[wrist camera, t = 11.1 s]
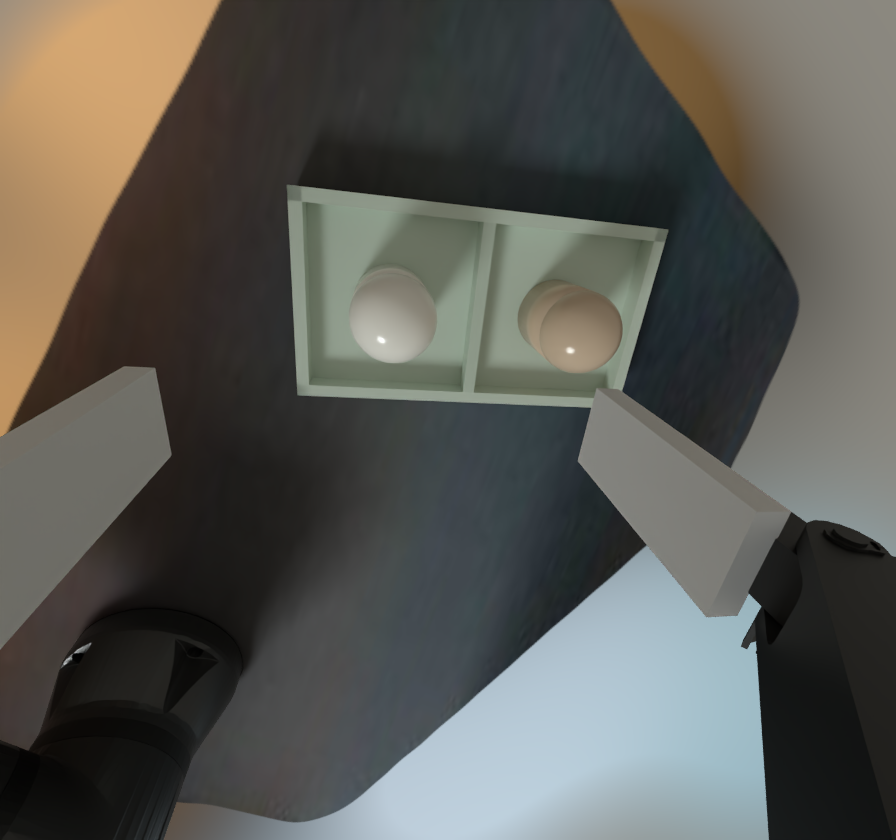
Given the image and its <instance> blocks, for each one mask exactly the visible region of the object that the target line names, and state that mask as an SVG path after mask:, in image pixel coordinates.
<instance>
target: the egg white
mask: <svg viewBox="0 0 896 840" xmlns="http://www.w3.org/2000/svg"><path fill="white" fill-rule="evenodd" d="M349 325H350V330H351V333H352V335H353V337H354V339H355V341H356V343H357V344H358V345H359V347H360V348H361V349H362V350H363V351H364V352H365V353H366V354H368V355H369V356H371V357H372V358H374V359H376V360H379V361H382V362H386V363H403V362H407V361H410V360H412V359H414V358H416V357H418V356H419V355H420V354H422V353H423V352H424V351H425V350H426V349H427V348H428V346H429V345H430V344H431V342H432V340H433V338H434V335H435V332H436V329H437V310H436V306H435V303H434V301H433V298H432V297H431V295H430V293H429V292H428V290H427V289H426V287H425V285H424V284H423V282H422V281H421V280H420V278H419V277H418V276H417V275H416V274H415V273H414V272H413V271H411V270H410V269H408V268H406V267H404V266H401V265H398V264H381V265H378V266H375V267H373V268H371V269H370V270H368V271H367V272H366V273H364V274H363V276H362V277H361V278H360V279H359V281H358V283H357V285H356V287H355V290H354V293H353V297H352V300H351V304H350V308H349Z"/></svg>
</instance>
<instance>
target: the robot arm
mask: <svg viewBox="0 0 896 840" xmlns="http://www.w3.org/2000/svg"><path fill="white" fill-rule="evenodd" d="M171 456H172V454H171V449H170V444H169V438H168V433H167V428H166V422H165V417H164V412H163V407H162V401H161V396H160V391H159V386H158V380H157V375H156V370H155V368H149V367H127V366H124V367H122V368H120V369H119V370H117V371H115V372H113V373H112V374H110V375H108V376H106V377H105V378H103V379H101V380H99V381H98V382H96V383H94V384H92V385H91V386H89V387H87V388H85V389H84V390H82V391H80V392H78V393H77V394H75V395H73V396H71V397H70V398H68V399H66V400H64V401H63V402H61V403H59V404H57V405H56V406H54V407H52V408H50V409H49V410H47V411H45V412H43V413H42V414H40V415H38V416H36V417H35V418H33V419H31V420H29V421H28V422H26V423H24V424H22V425H21V426H19V427H17V428H15V429H14V430H12V431H10V432H8V433H7V434H5V435H3V436H1V437H0V649H1V648H2V647H3V646H4V644H5V643H6V642H7V641H8V640H9V639H10V638H11V637H12V635H13V634H14V633H15V632H16V631H17V630H18V629H19V628H20V626H21V625H22V624H23V623H24V622H25V621H26V620H27V618H28V617H29V616H30V615H31V614H32V613H33V612H34V611H35V609H36V608H37V607H38V606H39V605H40V604H41V603H42V601H43V600H44V599H45V598H46V597H47V596H48V595H49V594H50V592H51V591H52V590H53V589H54V588H55V587H56V586H57V585H58V583H59V582H60V581H61V580H62V579H63V578H64V577H65V575H66V574H67V573H68V572H69V571H70V570H71V569H72V568H73V566H74V565H75V564H76V563H77V562H78V561H79V560H80V559H81V557H82V556H83V555H84V554H85V553H86V552H87V551H88V549H89V548H90V547H91V546H92V545H93V544H94V543H95V542H96V540H97V539H98V538H99V537H100V536H101V535H102V534H103V533H104V531H105V530H106V529H107V528H108V527H109V526H110V525H111V523H112V522H113V521H114V520H115V519H116V518H117V517H118V516H119V514H120V513H121V512H122V511H123V510H124V509H125V508H126V507H127V505H128V504H129V503H130V502H131V501H132V500H133V499H134V497H135V496H136V495H137V494H138V493H139V492H140V491H141V490H142V488H143V487H144V486H145V485H146V484H147V483H148V482H149V481H150V479H151V478H152V477H153V476H154V475H155V474H156V473H157V471H158V470H159V469H160V468H161V467H162V466H163V465H164V464H165V462H166V461H167V460H168V459H169V458H170V457H171ZM578 462H579V463H580V464H581V465H582V467H583V468H584V469H585V470H586V472H587V473H588V474H589V475H590V476H591V478H592V479H593V480H594V481H595V482H596V484H597V485H598V486H599V487H600V489H601V490H602V491H603V492H604V493H605V495H606V496H607V497H608V498H609V499H610V501H611V502H612V503H613V504H614V506H615V507H616V508H617V509H618V510H619V512H620V513H621V514H622V515H623V517H624V518H625V519H626V520H627V521H628V523H629V524H630V525H631V526H632V527H633V529H634V530H635V531H636V532H637V534H638V535H639V536H640V537H641V538H642V540H643V541H644V542H645V543H646V544H647V546H648V547H649V548H650V549H651V550H652V552H653V553H654V554H655V555H656V557H657V558H658V559H659V560H660V561H661V563H662V564H663V565H664V566H665V567H666V569H667V570H668V571H669V572H670V573H671V575H672V576H673V577H674V578H675V580H676V581H677V582H678V583H679V585H680V586H681V587H682V588H683V589H684V591H685V592H686V593H687V594H688V595H689V597H690V598H691V599H692V600H693V602H694V603H695V604H696V605H697V606H698V607H699V609H700V610H701V611H702V612H703V614H704V615H705V616H706V617H719V616H737V615H738V613H739V611H740V609H741V607H742V605H743V604H744V602H745V600H746V598H747V596H748V594H750V595H751V596H752V597H753V598H754V599H755V600H756V601H757V602H758V603H759V604H760V605H761V606H762V607H761V609H760V610H759V612H758V614H757V616H756V618H755V620H754V621H753V623H752V625H751V627H750V629H749V630H748V632H747V634H746V636H745V638H744V640H743V642H742V645H741V647H743V648H745V649H747V648H748V647H749V645H750V643H751V642H755V641H756V647H757V651H756V654H757V662H758V677H759V693H760V707H761V708H760V709H761V723H762V740H763V755H764V770H765V786H766V801H767V816H768V832H769V840H896V557H893V556H891V555H890V554H889V553H888V551H887V550H886V549H885V548H884V547H883V546H881V545H880V544H879V543H878V542H876V541H874V540H873V539H871V538H869V537H867V536H865V535H863V534H861V533H860V532H858V531H855V530H853V529H851V528H848V527H845V526H842V525H840V524H835V523H831V522H828V521H818V520H814V521H811V522H808V523H806V522H805V521H803V520H802V519H801V518H799V517H798V516H796V515H795V514H793V513H792V512H791V511H790V510H788V509H787V508H785V507H784V506H782V505H781V504H780V503H778V502H777V501H776V500H774V499H773V498H771V497H770V496H768V495H767V494H766V493H764V492H763V491H761V490H760V489H758V488H757V487H756V486H754V485H753V484H751V483H750V482H749V481H747V480H746V479H744V478H743V477H742V476H740V475H739V474H737V473H736V472H735V471H733V470H732V469H730V468H729V467H727V466H726V465H725V464H723V463H722V462H720V461H719V460H718V459H716V458H715V457H713V456H712V455H711V454H709V453H708V452H706V451H705V450H703V449H702V448H701V447H699V446H698V445H696V444H695V443H694V442H692V441H691V440H689V439H688V438H687V437H685V436H684V435H682V434H681V433H679V432H678V431H677V430H675V429H674V428H672V427H671V426H670V425H668V424H667V423H665V422H664V421H662V420H661V419H660V418H658V417H657V416H655V415H654V414H653V413H651V412H650V411H648V410H647V409H646V408H644V407H643V406H641V405H640V404H638V403H637V402H636V401H634V400H633V399H631V398H630V397H629V396H627V395H626V394H624V393H623V392H622V391H620V390H619V389H607V388H596V392H595V396H594V400H593V404H592V408H591V412H590V416H589V420H588V423H587V427H586V431H585V435H584V439H583V443H582V447H581V451H580V455H579V459H578ZM241 671H242V657H241V653H240V651H239V649H238V647H237V645H236V644H235V642H234V641H233V640H232V638H231V637H230V636H229V635H228V634H227V633H225V632H224V631H223V630H222V629H220V628H219V627H217V626H216V625H214V624H212V623H210V622H208V621H206V620H204V619H202V618H199V617H197V616H194V615H190V614H187V613H183V612H178V611H173V610H164V609H138V610H130V611H125V612H120V613H117V614H114V615H111V616H108V617H106V618H103V619H101V620H99V621H97V622H96V623H94V624H93V625H91V626H90V627H89V628H87V629H86V630H85V631H84V632H83V633H82V635H81V636H80V637H79V639H78V640H77V641H76V643H75V644H74V645H73V647H72V648H71V650H70V651H69V652H68V654H67V655H66V657H65V659H64V660H63V662H62V665H61V667H60V670H59V673H58V676H57V679H56V683H55V686H54V689H53V692H52V695H51V699H50V702H49V705H48V708H47V711H46V715H45V718H44V721H43V724H42V727H41V731H40V733H39V735H38V736H37V738H36V740H35V741H34V743H33V744H32V746H31V747H30V749H29V750H28V751H27V750H25V749H22V748H19V747H17V746H14V745H12V744H9V743H6V742H4V741H1V740H0V840H164V837H165V834H166V831H167V828H168V825H169V822H170V820H171V817H172V814H173V811H174V808H175V805H176V802H177V800H178V797H179V794H180V791H181V788H182V785H183V782H184V779H185V776H186V774H187V771H188V768H189V765H190V763H191V760H192V758H193V756H194V754H195V753H196V751H197V750H198V748H199V747H200V745H201V744H202V742H203V741H204V739H205V738H206V736H207V735H208V734H209V732H210V731H211V729H212V728H213V726H214V725H215V723H216V722H217V720H218V719H219V717H220V716H221V714H222V713H223V711H224V710H225V708H226V707H227V705H228V704H229V702H230V701H231V699H232V697H233V695H234V693H235V690H236V687H237V684H238V681H239V677H240V674H241Z"/></svg>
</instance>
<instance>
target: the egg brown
mask: <svg viewBox="0 0 896 840" xmlns="http://www.w3.org/2000/svg"><path fill="white" fill-rule="evenodd" d="M518 328H519V331H520V333H521V335H522V337H523V339H524V340H525V341H526V342H527V343H528V344H529V345H530V346H532V347H533V348H534V349H535V350H536V351H537V352H538V353H539V354H541V355H542V356H543V357H544V358H545V359H546V360H547V361H548V362H550V363H551V364H552V365H553V366H555V367H556V368H558V369H560V370H562V371H565V372H569V373H586V372H590V371H593V370H596V369H598V368H600V367H601V366H603V365H604V364H606V363H607V362H608V361H609V360H610V359H611V358H612V357H613V356H614V354H615V353H616V351H617V350H618V348H619V345H620V343H621V340H622V335H623V324H622V319H621V316H620V313H619V311H618V309H617V308H616V306H615V305H614V304H613V303H612V302H611V301H610V300H609V299H608V298H607V297H605V296H604V295H602V294H600V293H597V292H595V291H592V290H589V289H586V288H584V287H581V286H578V285H575V284H573V283H570V282H567V281H564V280H556V279H554V280H548V281H544V282H542V283H540V284H538V285H536V286H535V287H534V288H532V289H531V290H530V291H529V292H528V293H527V295H526V296H525V297H524V299H523V301H522V303H521V305H520V307H519V311H518Z"/></svg>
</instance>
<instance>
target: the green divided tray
mask: <svg viewBox="0 0 896 840" xmlns="http://www.w3.org/2000/svg"><path fill="white" fill-rule="evenodd" d="M287 197H288V217H289V237H290V256H291V276H292V296H293V315H294V335H295V355H296V375H297V394H298V395H303V396H327V397H351V398H375V399H399V400H423V401H447V402H471V403H495V404H519V405H543V406H567V407H591V408H592V404H593V400H594V396H595V392H596V388H607V389H619V390H620V391H622V389H623V386H624V382H625V379H626V375H627V372H628V368H629V365H630V362H631V358H632V355H633V351H634V348H635V344H636V341H637V337H638V334H639V330H640V327H641V324H642V320H643V317H644V313H645V310H646V306H647V303H648V299H649V296H650V292H651V289H652V286H653V282H654V279H655V275H656V272H657V268H658V265H659V261H660V258H661V254H662V251H663V248H664V244H665V241H666V237H667V234H668V229H660V228H651V227H643V226H634V225H626V224H617V223H609V222H600V221H592V220H583V219H575V218H566V217H558V216H550V215H541V214H533V213H524V212H516V211H507V210H499V209H490V208H482V207H473V206H465V205H456V204H448V203H439V202H431V201H422V200H414V199H405V198H397V197H388V196H380V195H371V194H363V193H354V192H346V191H337V190H329V189H320V188H312V187H303V186H295V185H287ZM381 264H398V265H401V266H404V267H406V268H408V269H410V270H411V271H413V272H414V273H415V274H416V275H417V276H418V277H419V278H420V280H421V281H422V282H423V284H424V285H425V287H426V289H427V290H428V292H429V293H430V295H431V297H432V298H433V301H434V303H435V306H436V310H437V329H436V332H435V335H434V338H433V340H432V342H431V344H430V345H429V346H428V348H427V349H426V350H425V351H424V352H423V353H422V354H420V355H419V356H418V357H416V358H414V359H412V360H410V361H407V362H403V363H386V362H382V361H379V360H376V359H374V358H372V357H371V356H369V355H368V354H366V353H365V352H364V351H363V350H362V349H361V348H360V347H359V345H358V344H357V343H356V341H355V339H354V337H353V335H352V333H351V330H350V325H349V308H350V304H351V300H352V297H353V293H354V290H355V287H356V285H357V283H358V281H359V279H360V278H361V277H362V276H363V274H364V273H366V272H367V271H368V270H370V269H371V268H373V267H375V266H378V265H381ZM554 279H556V280H564V281H567V282H570V283H573V284H575V285H578V286H581V287H584V288H586V289H589V290H592V291H595V292H597V293H600V294H602V295H604V296H605V297H607V298H608V299H609V300H610V301H611V302H612V303H613V304H614V305H615V306H616V308H617V309H618V311H619V313H620V316H621V319H622V324H623V335H622V340H621V343H620V345H619V348H618V350H617V351H616V353H615V354H614V356H613V357H612V358H611V359H610V360H609V361H608V362H607V363H606V364H604V365H603V366H601V367H600V368H598V369H596V370H593V371H590V372H586V373H569V372H565V371H562V370H560V369H558V368H556V367H555V366H553V365H552V364H551V363H550V362H548V361H547V360H546V359H545V358H544V357H543V356H542V355H541V354H539V353H538V352H537V351H536V350H535V349H534V348H533V347H532V346H530V345H529V344H528V343H527V342H526V341H525V340H524V339H523V337H522V335H521V333H520V331H519V328H518V311H519V307H520V305H521V303H522V301H523V299H524V297H525V296H526V295H527V293H528V292H529V291H530V290H531V289H532V288H534V287H535V286H536V285H538V284H540V283H542V282H544V281H548V280H554Z"/></svg>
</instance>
